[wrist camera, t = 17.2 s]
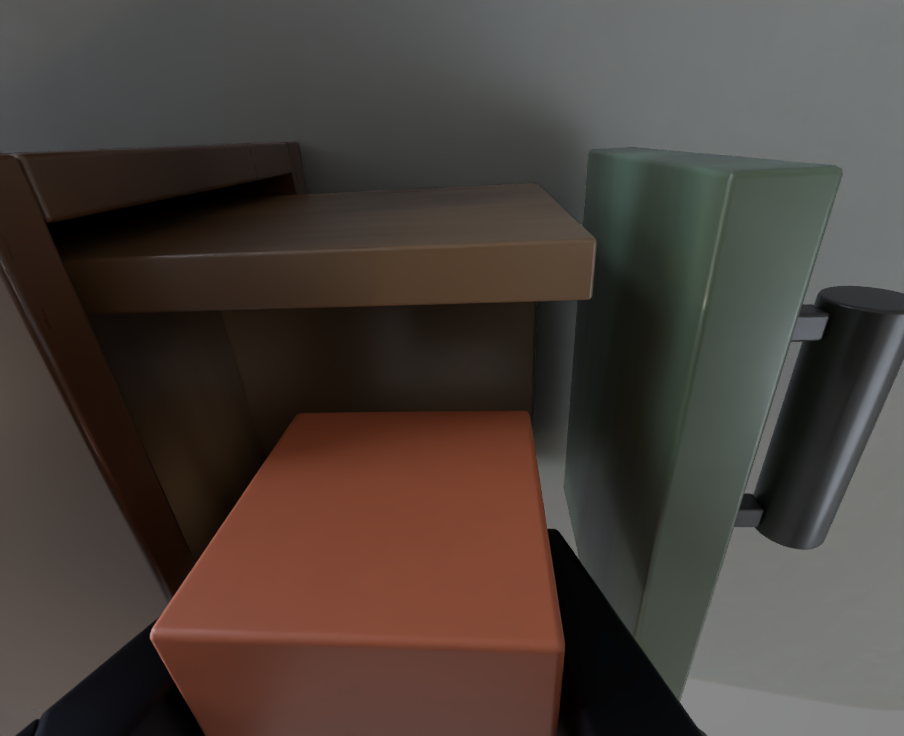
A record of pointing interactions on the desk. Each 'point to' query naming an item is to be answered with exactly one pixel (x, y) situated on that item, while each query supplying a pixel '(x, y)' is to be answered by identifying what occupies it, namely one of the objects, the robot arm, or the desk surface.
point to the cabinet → (85, 419)
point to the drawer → (517, 348)
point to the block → (377, 586)
